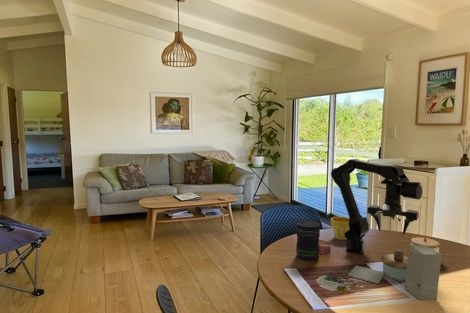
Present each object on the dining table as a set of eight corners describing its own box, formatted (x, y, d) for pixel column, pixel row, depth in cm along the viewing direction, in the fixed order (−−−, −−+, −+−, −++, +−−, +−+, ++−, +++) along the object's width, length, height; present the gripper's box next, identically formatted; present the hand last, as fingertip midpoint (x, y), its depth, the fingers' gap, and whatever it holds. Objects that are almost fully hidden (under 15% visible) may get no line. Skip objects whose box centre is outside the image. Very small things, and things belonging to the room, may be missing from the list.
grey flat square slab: (347, 276, 125) (347, 275, 125) (356, 266, 134) (356, 265, 134) (378, 284, 119) (378, 283, 119) (385, 273, 127) (385, 272, 127)
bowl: (380, 275, 126) (381, 263, 126) (387, 266, 134) (387, 255, 134) (410, 282, 120) (410, 270, 120) (414, 272, 128) (415, 261, 128)
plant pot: (331, 240, 165) (332, 221, 164) (329, 234, 175) (329, 216, 174) (353, 241, 163) (354, 222, 163) (349, 235, 174) (350, 217, 173)
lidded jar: (443, 265, 136) (444, 242, 135) (414, 262, 138) (415, 240, 137) (433, 255, 146) (434, 234, 145) (406, 253, 148) (407, 233, 147)
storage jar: (323, 256, 144) (324, 223, 143) (312, 263, 137) (312, 228, 136) (303, 251, 151) (304, 219, 150) (291, 257, 144) (292, 223, 142)
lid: (377, 263, 125) (378, 252, 125) (385, 254, 135) (385, 243, 135) (413, 272, 118) (413, 259, 118) (418, 261, 128) (419, 250, 128)
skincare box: (403, 288, 115) (405, 244, 114) (423, 287, 116) (425, 243, 115) (419, 301, 107) (421, 253, 106) (440, 300, 108) (442, 252, 106)
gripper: (364, 196, 136) (362, 233, 137) (415, 202, 125) (413, 242, 126) (371, 192, 145) (370, 226, 146) (419, 197, 133) (418, 235, 135)
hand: (391, 232), depth 138 cm, fingers open, 9 cm apart
